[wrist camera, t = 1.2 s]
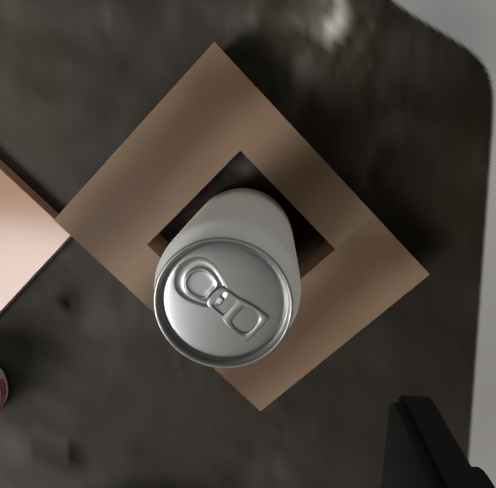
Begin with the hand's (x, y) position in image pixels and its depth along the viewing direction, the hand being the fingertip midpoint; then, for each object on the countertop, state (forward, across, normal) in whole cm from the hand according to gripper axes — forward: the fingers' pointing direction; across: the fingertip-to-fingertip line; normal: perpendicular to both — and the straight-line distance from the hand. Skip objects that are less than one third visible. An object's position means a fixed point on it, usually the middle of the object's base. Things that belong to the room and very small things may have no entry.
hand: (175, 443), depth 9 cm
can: (+20, 0, 0) cm, 20 cm away
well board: (+20, 0, 0) cm, 20 cm away
